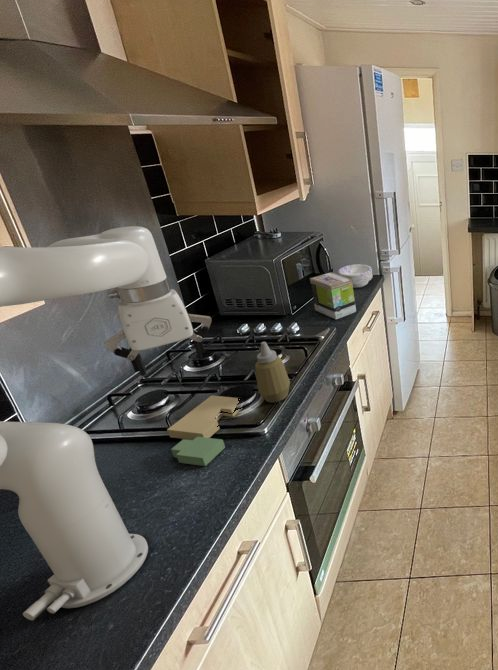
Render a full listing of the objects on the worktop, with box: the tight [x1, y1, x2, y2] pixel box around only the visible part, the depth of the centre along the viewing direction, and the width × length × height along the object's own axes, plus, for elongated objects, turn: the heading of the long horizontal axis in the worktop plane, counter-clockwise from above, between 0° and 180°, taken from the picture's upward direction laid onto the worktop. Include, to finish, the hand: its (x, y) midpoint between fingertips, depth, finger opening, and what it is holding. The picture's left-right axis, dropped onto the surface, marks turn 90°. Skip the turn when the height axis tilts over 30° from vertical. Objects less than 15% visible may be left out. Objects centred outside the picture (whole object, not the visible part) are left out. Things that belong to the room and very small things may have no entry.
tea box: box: [309, 271, 357, 320], centre depth 170 cm, size 15×10×15 cm, turn 54°
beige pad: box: [166, 395, 244, 440], centre depth 110 cm, size 14×10×2 cm
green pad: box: [170, 437, 226, 467], centre depth 99 cm, size 6×10×2 cm, turn 82°
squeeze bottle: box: [254, 341, 291, 404], centre depth 117 cm, size 8×8×18 cm
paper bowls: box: [337, 263, 374, 289], centre depth 199 cm, size 15×15×8 cm
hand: (173, 364), depth 88 cm, fingers open, 9 cm apart
